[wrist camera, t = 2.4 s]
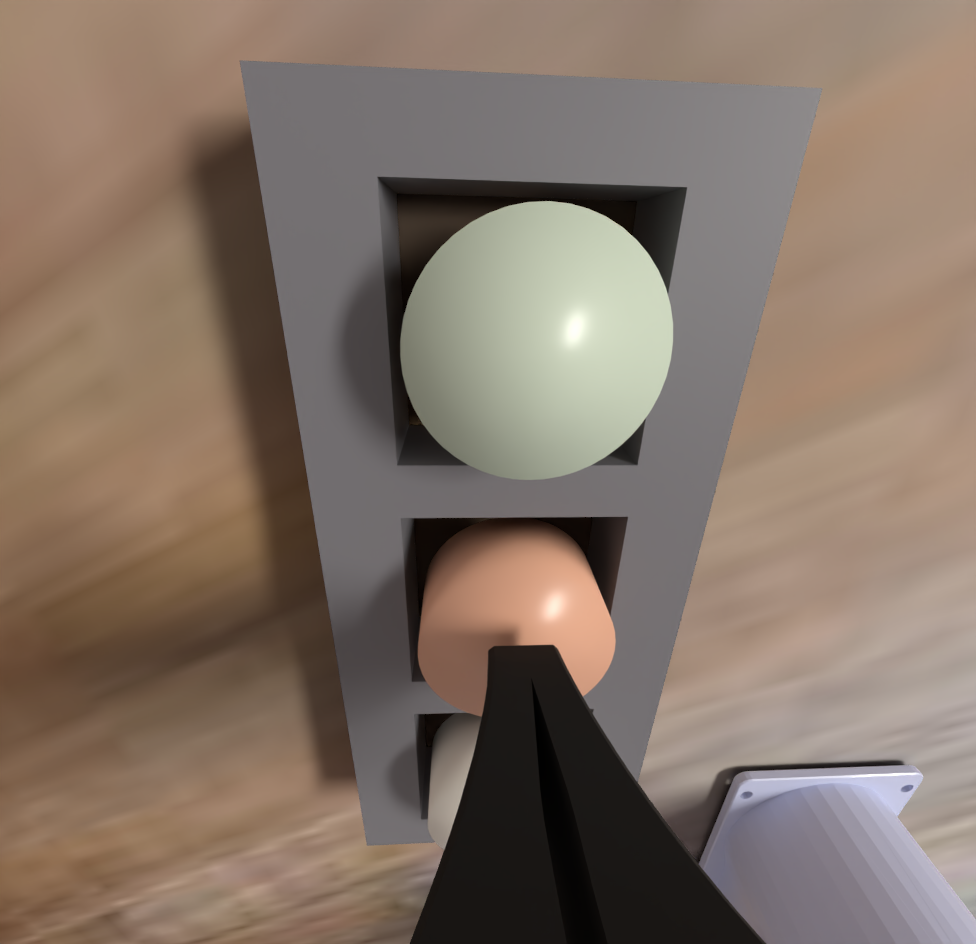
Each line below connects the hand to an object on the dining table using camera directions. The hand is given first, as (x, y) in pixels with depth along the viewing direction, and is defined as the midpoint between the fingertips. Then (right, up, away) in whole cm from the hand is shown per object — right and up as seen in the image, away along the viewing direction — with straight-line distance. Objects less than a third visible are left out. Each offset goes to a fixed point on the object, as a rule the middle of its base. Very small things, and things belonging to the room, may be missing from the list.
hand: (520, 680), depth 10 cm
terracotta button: (0, +1, +3) cm, 3 cm away
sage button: (0, +7, 0) cm, 7 cm away
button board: (0, +2, +4) cm, 5 cm away
